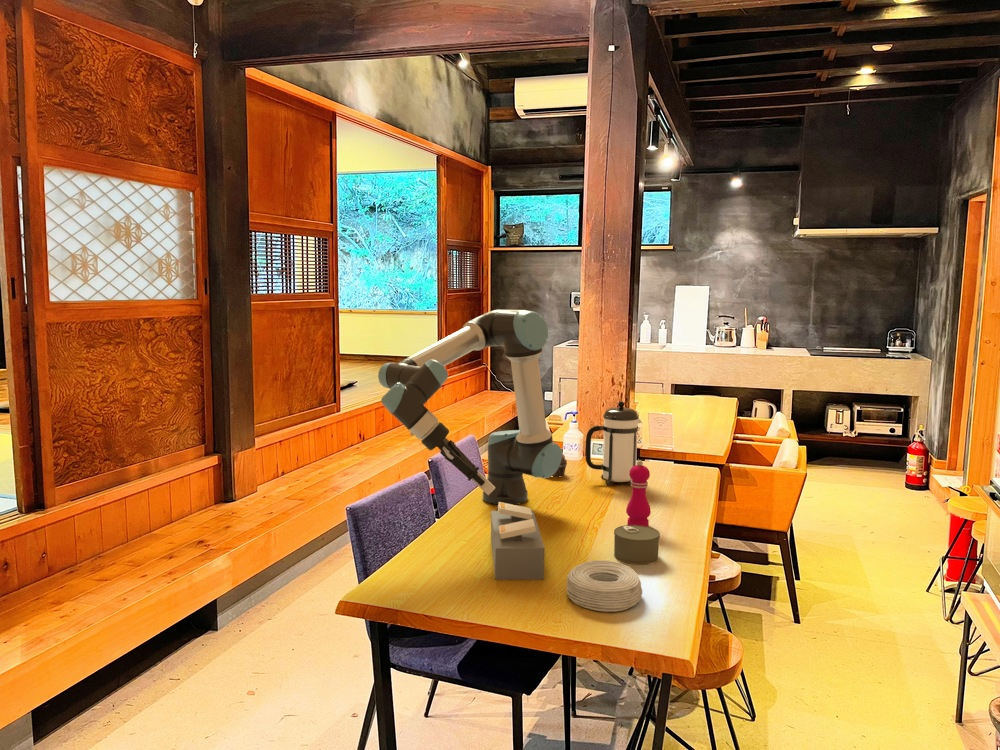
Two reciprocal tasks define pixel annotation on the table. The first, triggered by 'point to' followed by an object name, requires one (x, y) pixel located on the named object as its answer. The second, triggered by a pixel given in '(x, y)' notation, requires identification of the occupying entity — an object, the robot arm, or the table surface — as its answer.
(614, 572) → the cable
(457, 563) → the table surface
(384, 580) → the table surface
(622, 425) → the coffee press
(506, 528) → the rocker
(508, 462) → the robot arm
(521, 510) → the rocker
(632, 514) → the pepper mill
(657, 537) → the can
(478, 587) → the table surface
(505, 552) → the rocker switch box
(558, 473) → the cupcake
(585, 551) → the table surface
